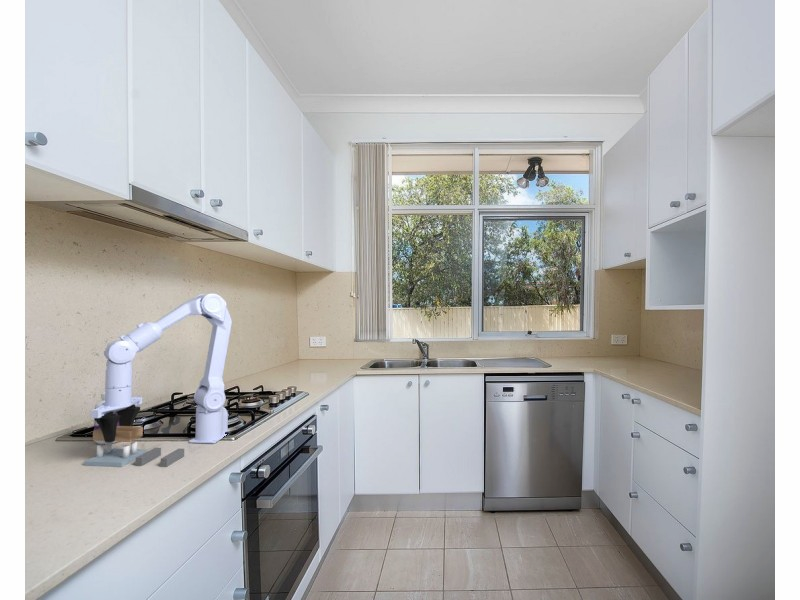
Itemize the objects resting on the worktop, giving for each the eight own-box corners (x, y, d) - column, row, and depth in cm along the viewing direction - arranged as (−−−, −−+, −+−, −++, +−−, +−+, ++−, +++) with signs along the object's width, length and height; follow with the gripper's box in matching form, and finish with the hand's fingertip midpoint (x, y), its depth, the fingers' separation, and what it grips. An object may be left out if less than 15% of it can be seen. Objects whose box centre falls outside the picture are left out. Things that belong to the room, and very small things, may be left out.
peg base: (113, 452, 105) (113, 437, 105) (147, 453, 104) (148, 438, 105) (83, 465, 96) (84, 449, 96) (121, 466, 96) (121, 450, 96)
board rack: (155, 455, 103) (155, 447, 103) (184, 456, 103) (184, 448, 103) (135, 465, 96) (135, 457, 96) (166, 466, 96) (166, 458, 96)
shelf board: (107, 434, 103) (107, 425, 103) (142, 436, 102) (142, 426, 102) (92, 440, 99) (93, 430, 99) (129, 441, 98) (129, 432, 98)
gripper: (126, 380, 108) (124, 429, 108) (79, 391, 94) (78, 447, 94) (149, 381, 108) (148, 430, 107) (106, 392, 93) (105, 448, 93)
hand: (117, 438), depth 100 cm, fingers closed on shelf board, 4 cm apart
